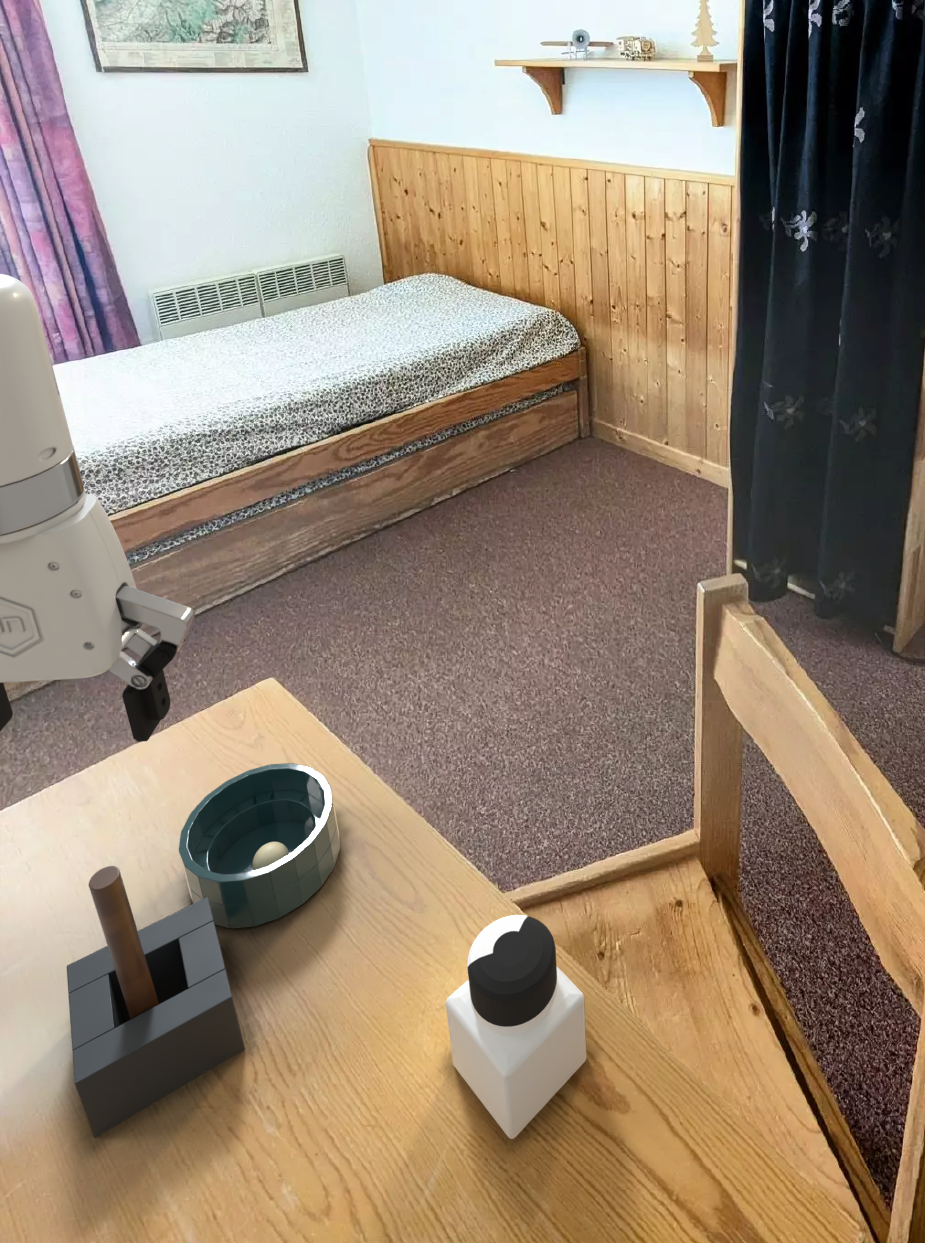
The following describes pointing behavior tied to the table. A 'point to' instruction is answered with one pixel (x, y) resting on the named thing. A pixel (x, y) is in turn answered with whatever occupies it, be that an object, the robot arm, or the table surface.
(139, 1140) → the table surface
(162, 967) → the holder
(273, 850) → the beige egg
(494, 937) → the medicine bottle
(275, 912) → the bowl
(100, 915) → the spurtle
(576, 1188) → the table surface
